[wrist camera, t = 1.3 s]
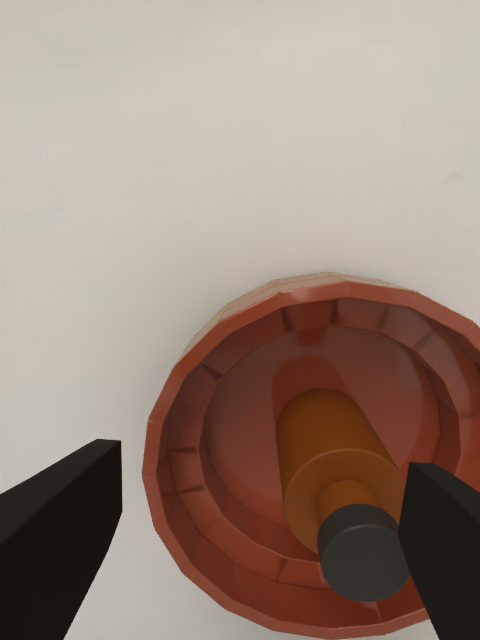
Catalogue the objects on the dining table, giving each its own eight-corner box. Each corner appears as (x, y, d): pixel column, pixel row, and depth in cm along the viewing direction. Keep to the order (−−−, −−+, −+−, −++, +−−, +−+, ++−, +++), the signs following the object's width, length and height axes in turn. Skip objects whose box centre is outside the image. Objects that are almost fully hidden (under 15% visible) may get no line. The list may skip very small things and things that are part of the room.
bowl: (431, 575, 21) (478, 664, 17) (153, 531, 21) (126, 607, 17) (514, 300, 18) (598, 320, 14) (187, 249, 18) (165, 252, 14)
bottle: (356, 478, 19) (425, 639, 12) (268, 464, 19) (278, 616, 12) (375, 396, 18) (464, 510, 11) (284, 381, 19) (305, 485, 11)
